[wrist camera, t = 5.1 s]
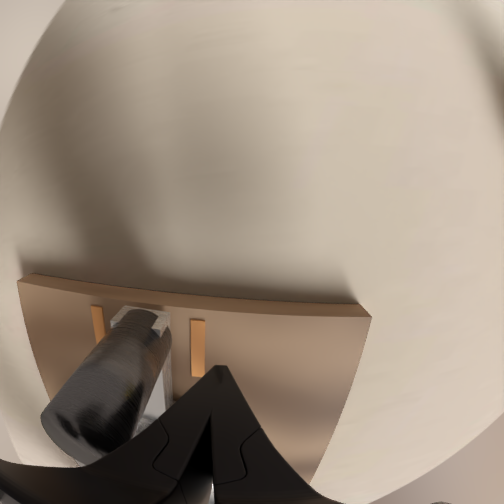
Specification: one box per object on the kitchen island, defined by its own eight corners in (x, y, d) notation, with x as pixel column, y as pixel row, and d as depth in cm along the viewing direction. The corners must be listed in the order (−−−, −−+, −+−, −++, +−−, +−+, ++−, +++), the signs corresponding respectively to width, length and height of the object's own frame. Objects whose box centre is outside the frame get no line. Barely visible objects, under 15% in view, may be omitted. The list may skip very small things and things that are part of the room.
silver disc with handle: (249, 502, 15) (251, 570, 8) (101, 475, 14) (79, 534, 8) (294, 318, 11) (341, 449, 5) (40, 281, 11) (-57, 341, 4)
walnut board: (289, 505, 18) (290, 517, 16) (105, 481, 17) (101, 492, 16) (360, 304, 13) (372, 317, 11) (32, 273, 12) (15, 281, 11)
